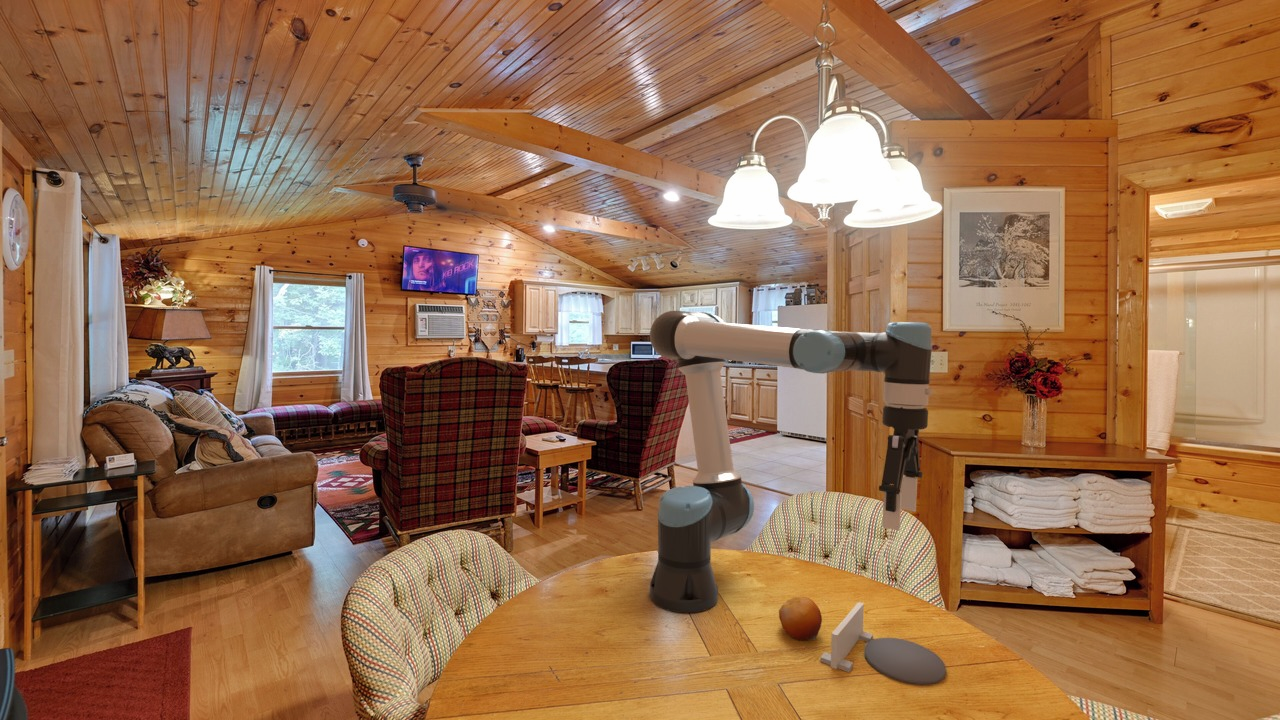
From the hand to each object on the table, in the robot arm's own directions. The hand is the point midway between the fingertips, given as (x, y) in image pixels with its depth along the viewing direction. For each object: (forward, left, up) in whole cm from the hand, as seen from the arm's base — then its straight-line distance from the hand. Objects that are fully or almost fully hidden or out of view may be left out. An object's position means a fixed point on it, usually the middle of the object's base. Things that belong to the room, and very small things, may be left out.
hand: (899, 518), depth 101 cm
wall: (-7, -7, -24) cm, 26 cm away
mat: (+2, -5, -24) cm, 25 cm away
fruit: (-16, -8, -24) cm, 30 cm away
